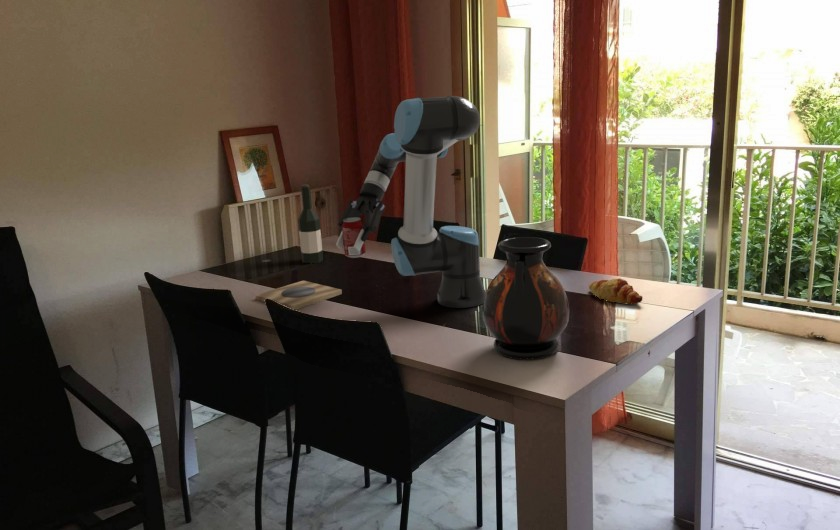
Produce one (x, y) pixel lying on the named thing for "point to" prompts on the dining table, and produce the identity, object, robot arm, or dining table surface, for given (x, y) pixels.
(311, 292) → the oak board
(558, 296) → the ceramic vase
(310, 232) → the wine bottle
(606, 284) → the croissant
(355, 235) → the soda can
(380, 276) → the dining table surface
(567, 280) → the dining table surface
